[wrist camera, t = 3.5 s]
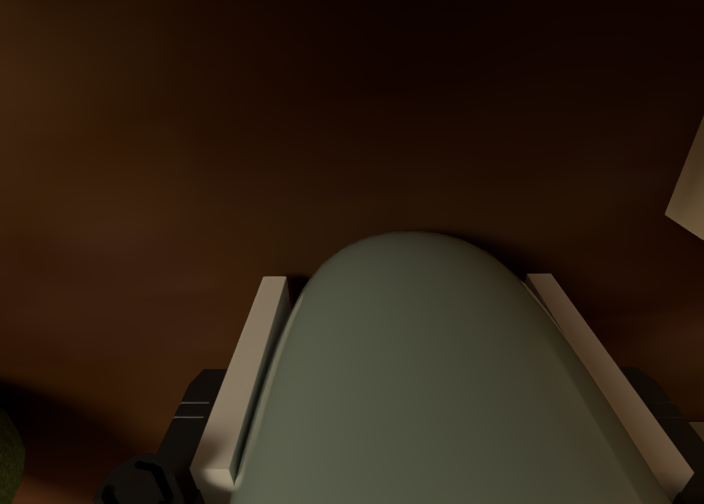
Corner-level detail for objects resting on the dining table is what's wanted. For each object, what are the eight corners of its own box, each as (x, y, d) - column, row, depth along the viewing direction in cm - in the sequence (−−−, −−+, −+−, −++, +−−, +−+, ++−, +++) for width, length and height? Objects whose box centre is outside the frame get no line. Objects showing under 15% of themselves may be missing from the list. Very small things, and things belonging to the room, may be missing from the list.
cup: (540, 195, 12) (948, 620, 4) (493, 376, 16) (638, 784, 8) (284, 191, 12) (104, 588, 4) (300, 371, 16) (228, 765, 8)
